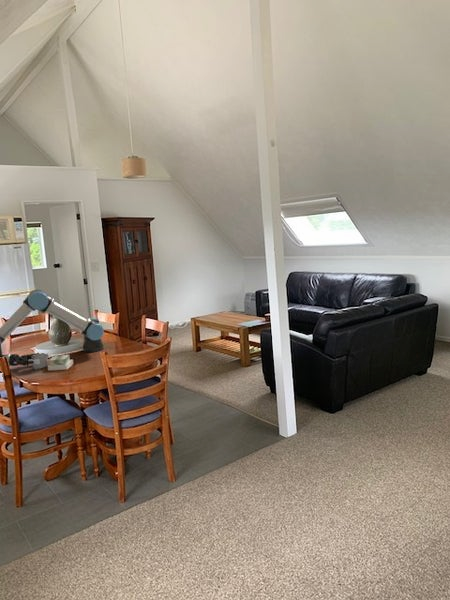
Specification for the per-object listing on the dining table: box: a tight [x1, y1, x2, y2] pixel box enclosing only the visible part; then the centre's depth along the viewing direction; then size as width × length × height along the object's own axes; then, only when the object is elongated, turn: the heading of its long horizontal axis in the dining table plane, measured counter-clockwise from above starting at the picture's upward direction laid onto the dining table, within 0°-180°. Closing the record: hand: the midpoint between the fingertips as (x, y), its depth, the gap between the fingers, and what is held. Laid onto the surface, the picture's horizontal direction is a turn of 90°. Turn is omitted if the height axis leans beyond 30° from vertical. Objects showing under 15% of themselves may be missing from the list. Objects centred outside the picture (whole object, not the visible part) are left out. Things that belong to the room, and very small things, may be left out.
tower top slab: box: [48, 354, 71, 366], centre depth 290 cm, size 10×10×4 cm
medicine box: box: [31, 352, 49, 370], centre depth 292 cm, size 8×4×9 cm, turn 141°
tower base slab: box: [47, 359, 74, 371], centre depth 291 cm, size 12×12×4 cm
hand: (43, 358), depth 291 cm, fingers open, 13 cm apart
